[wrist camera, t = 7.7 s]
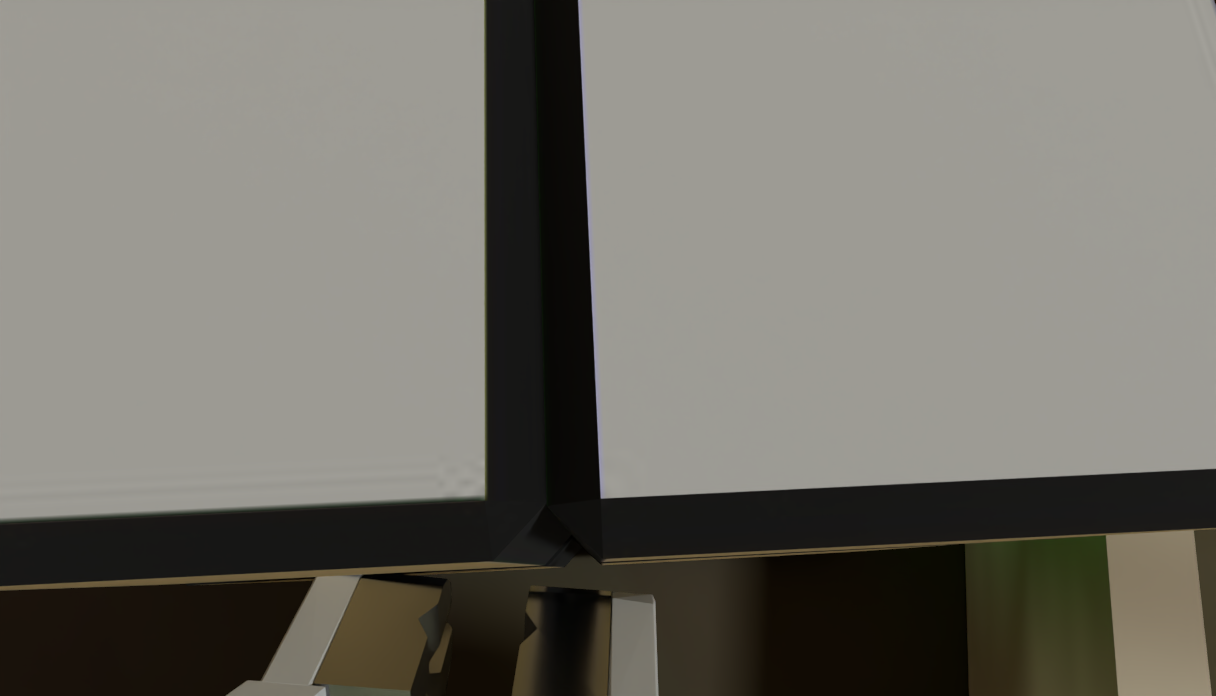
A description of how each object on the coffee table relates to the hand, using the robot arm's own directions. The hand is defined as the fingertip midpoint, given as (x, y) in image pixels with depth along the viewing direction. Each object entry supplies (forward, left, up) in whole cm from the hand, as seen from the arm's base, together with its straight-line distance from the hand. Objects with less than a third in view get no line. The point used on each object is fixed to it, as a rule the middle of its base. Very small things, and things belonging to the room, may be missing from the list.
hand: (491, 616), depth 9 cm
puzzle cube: (+2, -5, -5) cm, 7 cm away
